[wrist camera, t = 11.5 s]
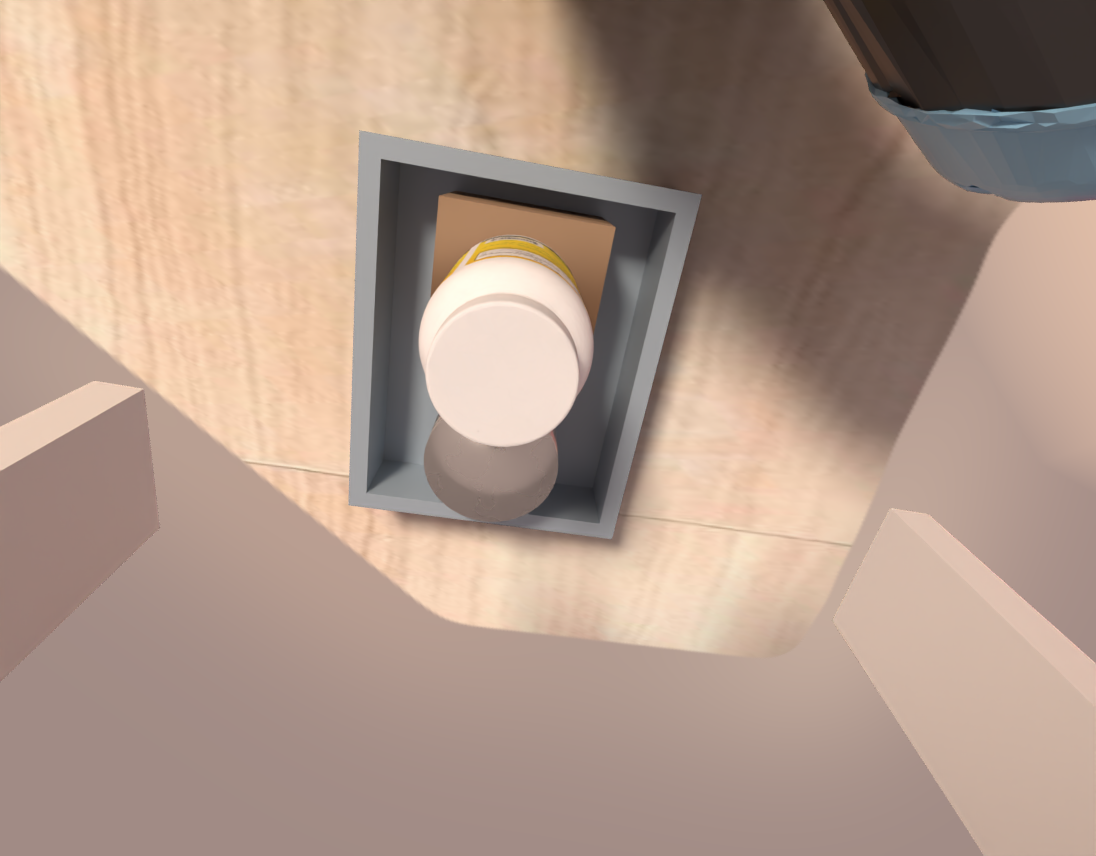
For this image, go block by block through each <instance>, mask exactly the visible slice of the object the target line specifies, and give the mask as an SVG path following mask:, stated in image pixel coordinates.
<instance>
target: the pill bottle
mask: <svg viewBox="0 0 1096 856" xmlns="http://www.w3.org/2000/svg"><path fill="white" fill-rule="evenodd" d="M593 352H594V339H593V330H592V326H591V321H590V318H589V315H588V312H587V310H586V307H585V305H584V303H583V300H582V297H581V295H580V292H579V290H578V288H577V285H576V283H575V280H574V278H573V275H572V273H571V271H570V269H569V268H568V266H567V265H566V264H565V262H564V261H563V260H562V258H561V257H560V256H559V255H558V254H557V253H556V252H555V251H554V250H552V249H551V248H550V247H548V246H547V245H545V244H544V243H542V242H540V241H538V240H535V239H533V238H530V237H526V236H520V235H502V236H496V237H492V238H489V239H486V240H484V241H482V242H480V243H478V244H477V245H475V246H474V247H472V248H471V249H470V250H468V251H467V252H466V253H465V254H464V255H463V256H462V257H461V258H460V259H459V261H458V262H457V263H456V264H455V266H454V267H453V268H452V270H451V271H450V272H449V274H448V275H447V276H446V278H445V279H444V280H443V282H442V283H441V284H440V285H439V287H438V288H437V289H436V291H435V292H434V294H433V295H432V297H431V298H430V300H429V302H428V304H427V306H426V309H425V311H424V314H423V317H422V320H421V325H420V330H419V354H420V359H421V363H422V366H423V370H424V372H425V377H426V385H427V390H428V393H429V396H430V399H431V401H432V403H433V405H434V407H435V409H436V410H437V412H438V413H439V415H440V416H441V418H442V419H443V420H444V421H445V422H446V423H447V424H448V425H449V426H450V427H451V428H452V429H453V430H455V431H456V432H458V433H459V434H461V435H462V436H464V437H466V438H468V439H470V440H472V441H474V442H477V443H480V444H484V445H489V446H496V447H510V446H519V445H523V444H526V443H530V442H533V441H535V440H537V439H540V438H541V437H543V436H545V435H546V434H548V433H549V432H551V431H552V430H553V429H555V428H556V427H557V426H558V425H559V424H560V423H561V422H562V421H563V420H564V418H565V417H566V416H567V414H568V413H569V411H570V409H571V408H572V406H573V404H574V401H575V399H576V397H577V395H578V394H579V392H580V391H581V389H582V387H583V386H584V384H585V382H586V380H587V378H588V375H589V372H590V369H591V365H592V360H593Z"/></svg>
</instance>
